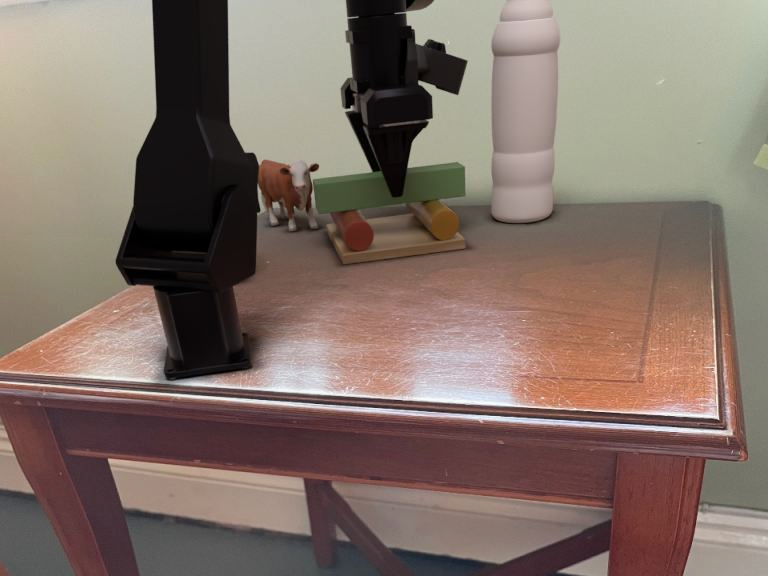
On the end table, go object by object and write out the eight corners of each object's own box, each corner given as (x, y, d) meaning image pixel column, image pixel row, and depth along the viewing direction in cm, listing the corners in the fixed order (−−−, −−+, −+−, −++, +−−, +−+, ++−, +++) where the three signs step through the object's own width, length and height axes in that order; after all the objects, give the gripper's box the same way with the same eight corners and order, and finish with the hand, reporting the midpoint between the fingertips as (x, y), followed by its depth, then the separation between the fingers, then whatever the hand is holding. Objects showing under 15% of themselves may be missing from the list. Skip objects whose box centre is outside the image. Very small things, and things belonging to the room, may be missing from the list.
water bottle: (509, 207, 93) (512, -45, 79) (562, 211, 90) (576, -53, 76) (480, 221, 89) (478, -44, 75) (535, 226, 85) (544, -52, 71)
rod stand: (465, 248, 80) (465, 208, 78) (343, 264, 78) (338, 224, 76) (434, 219, 91) (433, 183, 89) (327, 232, 90) (323, 197, 88)
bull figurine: (300, 240, 88) (289, 164, 83) (257, 221, 98) (246, 151, 93) (334, 233, 90) (325, 158, 85) (289, 214, 100) (279, 146, 95)
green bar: (465, 196, 82) (465, 166, 81) (319, 214, 81) (315, 184, 79) (458, 191, 85) (457, 161, 83) (315, 208, 83) (312, 179, 81)
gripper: (485, 7, 66) (486, 196, 75) (435, 8, 82) (440, 165, 90) (360, 19, 65) (375, 210, 74) (332, 18, 81) (348, 176, 89)
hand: (388, 188), depth 82 cm, fingers open, 9 cm apart
